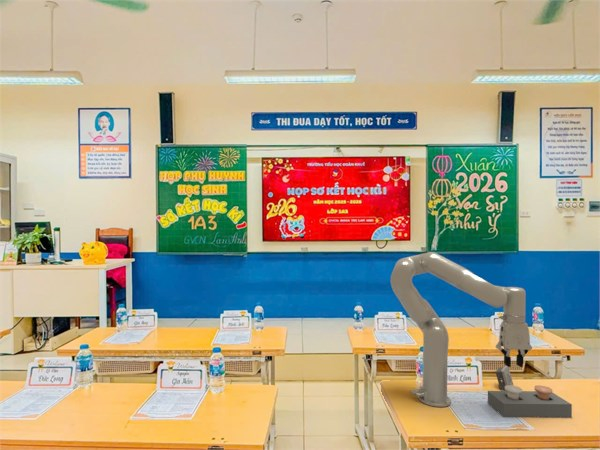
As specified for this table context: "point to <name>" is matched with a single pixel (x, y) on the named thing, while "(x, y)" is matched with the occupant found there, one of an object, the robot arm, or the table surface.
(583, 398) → the table surface
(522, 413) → the button box
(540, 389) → the terracotta button
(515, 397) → the grey button
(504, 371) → the electrical switch
